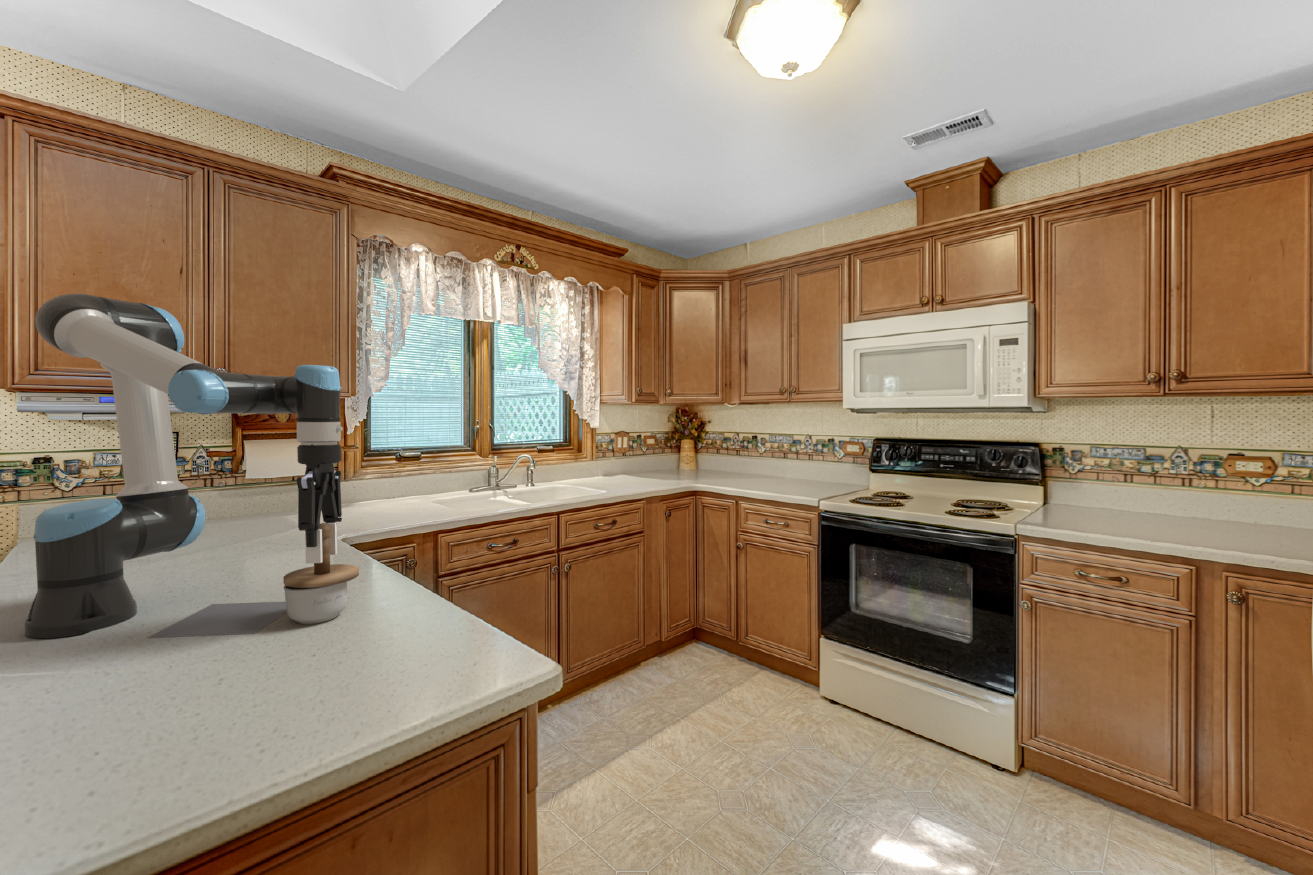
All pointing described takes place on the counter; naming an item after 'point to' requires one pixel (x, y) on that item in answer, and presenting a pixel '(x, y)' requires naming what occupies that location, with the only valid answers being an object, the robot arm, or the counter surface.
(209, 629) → the mat
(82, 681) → the counter surface
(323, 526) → the lid
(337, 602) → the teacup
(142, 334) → the robot arm
